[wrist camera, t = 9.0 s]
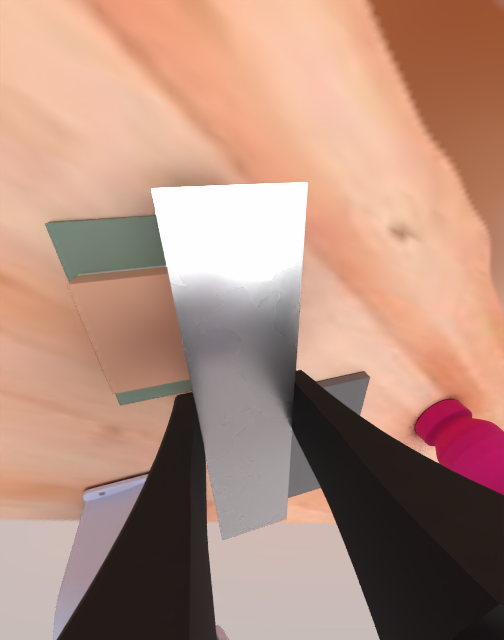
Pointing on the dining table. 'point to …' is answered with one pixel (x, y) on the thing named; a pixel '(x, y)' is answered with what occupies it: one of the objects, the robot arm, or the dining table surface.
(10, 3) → the dining table surface
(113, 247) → the mat
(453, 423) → the pepper mill
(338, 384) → the board
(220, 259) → the bar
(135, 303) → the tile
